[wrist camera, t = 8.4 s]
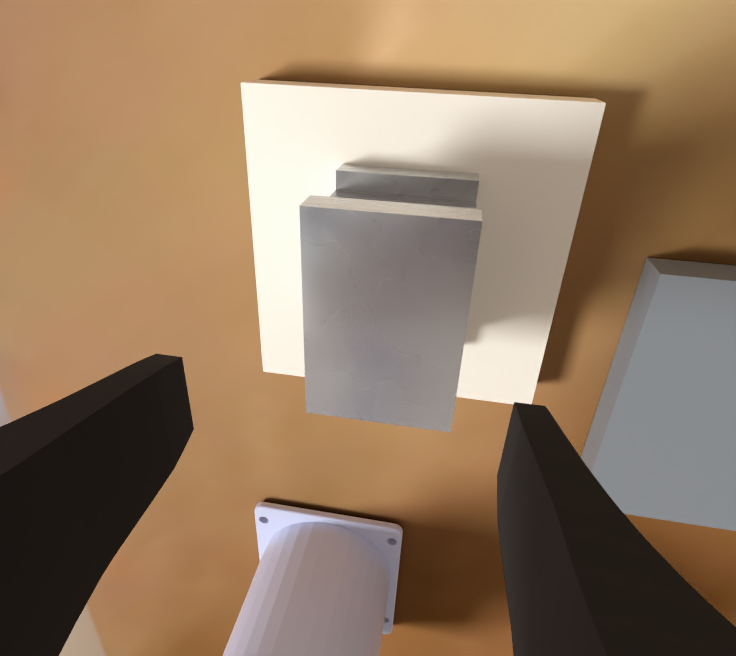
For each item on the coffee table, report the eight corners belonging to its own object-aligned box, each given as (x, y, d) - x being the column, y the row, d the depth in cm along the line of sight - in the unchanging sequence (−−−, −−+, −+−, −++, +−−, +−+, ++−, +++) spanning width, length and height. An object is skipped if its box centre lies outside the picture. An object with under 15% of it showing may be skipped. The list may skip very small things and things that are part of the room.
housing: (454, 345, 19) (450, 432, 15) (341, 332, 20) (305, 412, 16) (478, 173, 16) (482, 221, 12) (342, 164, 17) (298, 205, 12)
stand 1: (527, 384, 21) (531, 406, 20) (274, 352, 23) (263, 371, 21) (594, 97, 16) (605, 103, 15) (257, 79, 17) (240, 82, 16)
